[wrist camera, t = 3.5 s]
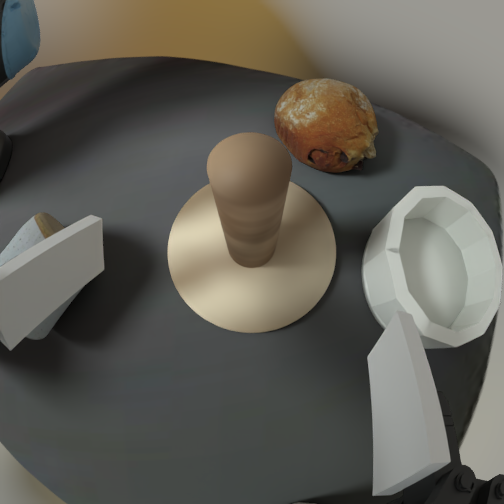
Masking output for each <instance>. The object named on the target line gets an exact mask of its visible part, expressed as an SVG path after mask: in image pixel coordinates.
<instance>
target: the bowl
mask: <svg viewBox="0 0 504 504" xmlns="http://www.w3.org/2000/svg"><path fill="white" fill-rule="evenodd" d="M502 272H503V267H502V263H501V259H500V256H499V252H498V248H497V245H496V242H495V238H494V235H493V232H492V230H491V229H490V227H489V226H488V225H487V223H486V222H485V220H484V219H483V217H482V216H481V215H480V213H479V212H478V211H477V209H476V208H475V207H474V205H473V204H472V203H471V202H470V201H468V200H467V199H465V198H463V197H462V196H460V195H459V194H457V193H455V192H454V191H452V190H450V189H448V188H447V187H445V186H415V187H414V188H413V189H412V190H411V191H410V192H409V193H408V194H407V195H406V196H405V197H404V198H403V199H402V200H401V201H400V202H399V203H398V204H397V205H395V206H394V207H393V208H392V209H391V211H390V212H389V213H388V214H387V215H386V216H385V217H384V218H383V219H382V220H381V221H380V222H379V224H378V225H377V226H376V227H375V228H374V229H373V230H372V234H371V235H370V237H369V239H368V241H367V243H366V246H365V249H364V253H363V258H362V266H361V277H362V285H363V291H364V295H365V299H366V301H367V304H368V306H369V309H370V311H371V313H372V314H373V316H374V318H375V319H376V321H377V322H378V324H379V325H380V326H381V327H382V328H383V329H384V330H385V329H386V327H387V326H388V324H389V322H390V321H391V319H392V317H393V316H394V314H395V312H396V311H397V310H399V311H402V312H406V313H409V314H412V316H413V319H414V322H415V324H416V327H417V330H418V333H419V335H420V338H421V341H422V344H423V347H424V348H425V349H434V348H452V347H458V346H460V345H462V344H465V343H467V342H469V341H471V340H473V339H475V338H477V337H479V336H481V335H483V334H484V333H485V331H486V330H487V328H488V326H489V324H490V322H491V321H492V319H493V317H494V315H495V313H496V311H497V309H498V308H499V306H500V300H501V289H502Z"/></svg>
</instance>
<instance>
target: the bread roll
mask: <svg viewBox="0 0 504 504" xmlns="http://www.w3.org/2000/svg"><path fill="white" fill-rule="evenodd" d="M274 115H275V117H274V122H275V128H276V132H277V134H278V137H279V138H280V140H281V141H282V142H283V144H284V145H285V146H286V147H287V149H288V150H289V151H290V152H291V153H292V154H293V155H294V156H295V158H296V159H298V160H299V161H300V162H302V163H304V164H306V165H308V166H310V167H312V168H315V169H317V170H320V171H325V172H333V173H338V172H343V171H348V170H351V169H356V170H362V168H363V159H364V158H366V159H367V158H369V159H372V158H374V157H375V156H376V150H375V147H374V142H373V141H374V140H375V137H376V136H377V135H378V132H379V131H378V128H377V121H376V116H375V113H374V110H373V108H372V105H371V103H370V101H369V100H368V98H367V97H366V96H365V95H364V94H363V93H362V92H361V91H360V90H359V89H357V88H356V87H354V86H352V85H350V84H348V83H344V82H341V81H337V80H333V79H328V78H319V79H309V80H304V81H301V82H299V83H296V84H295V85H293V86H292V87H290V88H289V89H288V90H287V91H286V92H285V93H284V94H283V95H282V96H281V98H280V99H279V101H278V103H277V105H276V109H275V114H274Z"/></svg>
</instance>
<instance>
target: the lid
mask: <svg viewBox="0 0 504 504" xmlns="http://www.w3.org/2000/svg"><path fill="white" fill-rule="evenodd" d="M291 171H292V161H291V157H290V154H289V153H288V151H287V149H286V148H285V147H284V146H283V145H282V144H281V143H280V142H279V141H277V140H276V139H274V138H272V137H270V136H267V135H265V134H260V133H251V132H248V133H240V134H236V135H233V136H230V137H228V138H226V139H224V140H223V141H221V142H220V143H219V144H217V145H216V146H215V147H214V149H213V150H212V151H211V153H210V155H209V158H208V161H207V173H208V177H209V181H210V184H208V185H206V186H205V187H203V188H202V189H200V190H199V191H198V192H196V193H195V194H194V195H193V196H192V197H191V198H190V199H189V200H188V201H187V202H186V204H185V205H184V206H183V207H182V209H181V210H180V212H179V214H178V215H177V217H176V219H175V221H174V224H173V226H172V229H171V232H170V236H169V242H168V264H169V269H170V273H171V277H172V279H173V282H174V284H175V287H176V288H177V290H178V292H179V294H180V295H181V297H182V298H183V299H184V301H185V302H186V303H187V304H188V306H189V307H191V308H192V309H193V310H194V311H195V312H196V313H197V314H198V315H200V316H201V317H203V318H204V319H205V320H207V321H209V322H211V323H213V324H215V325H217V326H219V327H222V328H225V329H228V330H232V331H237V332H244V333H259V332H267V331H272V330H276V329H279V328H281V327H284V326H287V325H289V324H291V323H292V322H294V321H296V320H298V319H299V318H301V317H302V316H304V315H305V314H306V313H308V312H309V311H310V310H311V309H312V308H313V307H314V306H315V305H316V304H317V303H318V301H319V300H320V299H321V297H322V296H323V295H324V293H325V291H326V289H327V288H328V286H329V283H330V281H331V279H332V276H333V272H334V268H335V262H336V243H335V237H334V233H333V229H332V226H331V224H330V221H329V219H328V217H327V215H326V214H325V212H324V210H323V209H322V207H321V206H320V205H319V204H318V202H317V201H316V200H315V199H314V198H313V197H312V196H311V195H310V194H309V193H308V192H306V191H305V190H304V189H302V188H301V187H300V186H298V185H296V184H294V183H293V182H291V181H290V177H291Z"/></svg>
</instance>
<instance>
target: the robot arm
mask: <svg viewBox="0 0 504 504" xmlns="http://www.w3.org/2000/svg"><path fill="white" fill-rule="evenodd" d="M39 47H40V29H39V22H38V16H37V12H36V8H35V4H34V1H33V0H0V87H1V86H3V85H4V84H5V83H6V82H7V81H8V80H10V79H12V78H14V77H15V75H16V73H18V72H19V71H20V70H21V69H23V68H24V67H25V66H26V65H28V64H29V63H30V62H31V61H32V60H33V59H34V58H35V57H36V55H37V53H38V50H39ZM11 152H12V142H11V140H10V139H9V137H8V136H7V135H6V134H5V133H4V132H3V131H1V130H0V180H1V178H2V176H3V174H4V172H5V170H6V167H7V165H8V162H9V159H10V156H11ZM103 270H104V256H103V233H102V218H99V217H96V216H93V215H89V216H87V217H86V218H84V219H82V220H80V221H78V222H76V223H74V224H72V225H70V226H68V227H66V228H64V229H63V230H61V231H59V232H57V233H55V234H53V235H52V236H50V237H48V238H46V239H45V240H43V241H41V242H39V243H38V244H36V245H34V246H33V247H31V248H29V249H28V250H26V251H24V252H23V253H21V254H19V255H17V256H15V257H14V258H12V259H11V260H9V261H8V262H7V263H4V264H3V265H1V267H0V341H1V342H2V343H3V344H4V345H5V346H6V347H7V348H8V349H9V350H10V351H11V350H12V349H13V348H14V347H15V346H16V345H17V344H18V343H19V342H20V341H21V340H22V339H23V338H25V337H26V336H27V335H28V334H29V333H30V332H31V331H32V330H33V329H34V328H35V327H37V326H38V325H39V324H40V323H41V322H42V321H43V320H44V319H45V318H47V317H48V316H49V315H50V314H51V313H52V312H53V311H55V310H56V309H57V308H58V307H59V306H60V305H62V304H63V303H64V302H65V301H66V300H68V299H69V298H70V297H71V296H72V295H74V294H75V293H76V292H77V291H78V290H80V289H81V288H82V287H83V286H85V285H86V284H87V283H88V282H89V281H91V280H92V279H93V278H94V277H96V276H97V275H98V274H100V273H101V272H102V271H103ZM367 358H368V367H369V378H370V389H371V403H372V421H373V494H372V496H381V495H393V494H395V493H397V492H399V491H401V490H403V496H402V497H400V498H398V499H396V500H393V501H391V502H389V503H387V504H504V475H501V474H499V475H497V476H495V477H494V478H492V479H491V480H489V481H484V480H480V479H476V477H475V474H474V472H473V471H472V470H471V468H470V467H468V466H466V465H462V464H461V460H460V454H459V448H458V443H457V438H456V433H455V428H454V427H453V425H454V424H453V419H452V418H451V411H450V407H449V403H448V401H447V400H446V398H445V396H444V395H443V393H442V392H440V391H436V387H435V384H434V380H433V376H432V373H431V370H430V366H429V363H428V360H427V357H426V353H425V350H424V347H423V344H422V341H421V338H420V335H419V333H418V330H417V327H416V324H415V322H414V319H413V316H412V314H409V313H406V312H402V311H399V310H397V311H396V312H395V314H394V316H393V317H392V319H391V321H390V322H389V324H388V326H387V327H386V329H385V330H384V332H383V334H382V335H381V337H380V338H379V340H378V341H377V343H376V345H375V346H374V348H373V349H372V351H371V352H370V354H369V355H368V357H367Z"/></svg>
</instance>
